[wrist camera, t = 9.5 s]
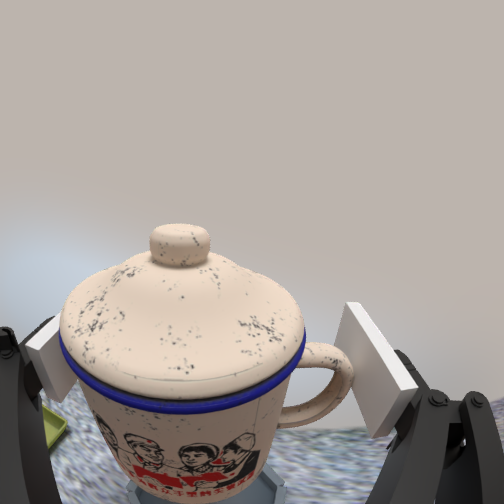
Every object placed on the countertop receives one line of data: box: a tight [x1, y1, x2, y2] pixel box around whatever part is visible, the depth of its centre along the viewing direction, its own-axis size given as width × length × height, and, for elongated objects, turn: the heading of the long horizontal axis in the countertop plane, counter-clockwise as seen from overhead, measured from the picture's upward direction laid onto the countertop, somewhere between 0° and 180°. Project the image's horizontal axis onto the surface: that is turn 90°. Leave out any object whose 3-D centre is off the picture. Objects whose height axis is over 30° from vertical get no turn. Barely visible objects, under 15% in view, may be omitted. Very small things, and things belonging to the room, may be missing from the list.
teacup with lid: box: [59, 224, 354, 504], centre depth 10 cm, size 12×9×12 cm
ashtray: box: [126, 463, 287, 504], centre depth 15 cm, size 13×13×2 cm
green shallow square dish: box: [42, 404, 68, 449], centre depth 16 cm, size 9×9×2 cm
